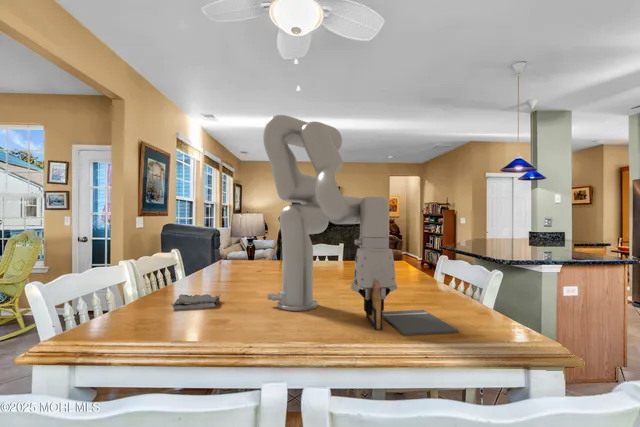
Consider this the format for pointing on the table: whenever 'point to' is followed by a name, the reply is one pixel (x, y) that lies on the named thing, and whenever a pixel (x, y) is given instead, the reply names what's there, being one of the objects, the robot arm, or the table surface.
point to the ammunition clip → (375, 307)
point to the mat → (417, 322)
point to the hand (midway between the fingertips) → (373, 313)
